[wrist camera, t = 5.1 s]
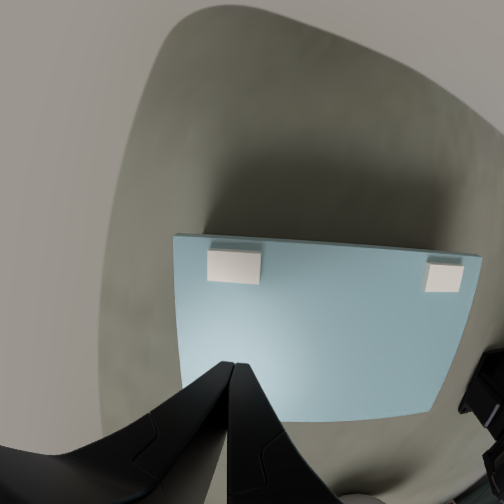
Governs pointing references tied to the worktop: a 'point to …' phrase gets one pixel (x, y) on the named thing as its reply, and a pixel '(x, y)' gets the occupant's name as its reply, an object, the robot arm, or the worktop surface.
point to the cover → (323, 321)
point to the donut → (360, 499)
